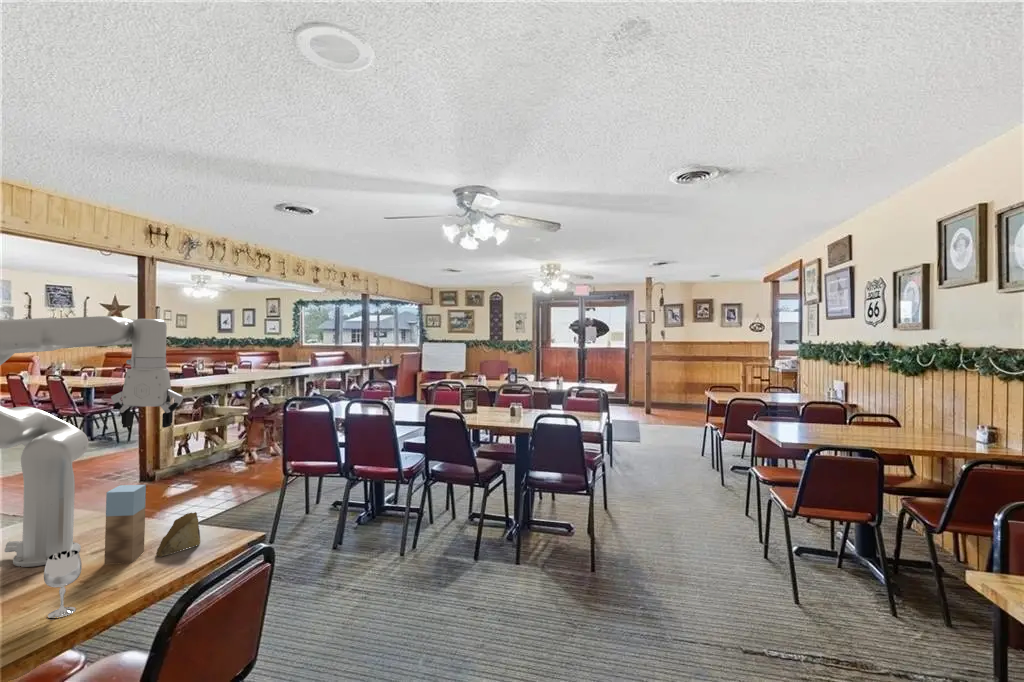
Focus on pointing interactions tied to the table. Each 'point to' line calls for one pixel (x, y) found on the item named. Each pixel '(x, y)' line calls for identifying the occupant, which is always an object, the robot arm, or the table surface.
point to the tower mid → (125, 526)
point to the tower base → (124, 549)
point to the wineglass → (62, 576)
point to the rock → (181, 535)
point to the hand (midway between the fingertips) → (147, 426)
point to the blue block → (125, 500)
